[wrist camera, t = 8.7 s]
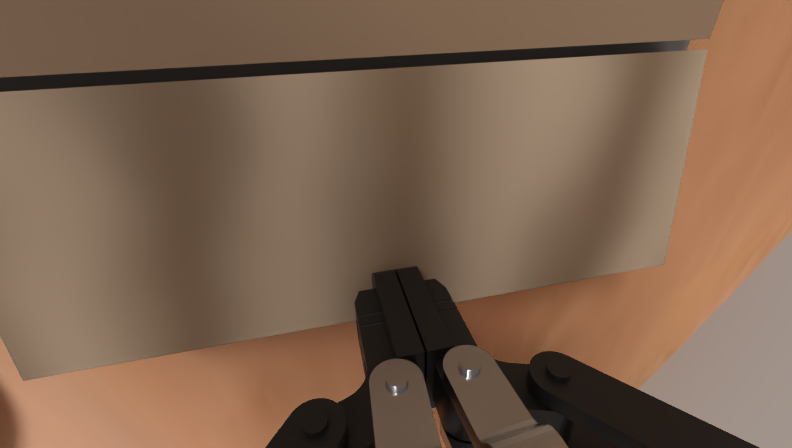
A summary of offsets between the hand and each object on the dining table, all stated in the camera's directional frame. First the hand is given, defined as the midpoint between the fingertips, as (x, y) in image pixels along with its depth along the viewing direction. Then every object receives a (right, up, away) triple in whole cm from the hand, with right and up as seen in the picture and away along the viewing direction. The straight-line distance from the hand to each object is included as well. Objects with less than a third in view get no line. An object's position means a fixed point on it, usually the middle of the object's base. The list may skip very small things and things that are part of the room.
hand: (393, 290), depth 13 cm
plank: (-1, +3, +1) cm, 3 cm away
